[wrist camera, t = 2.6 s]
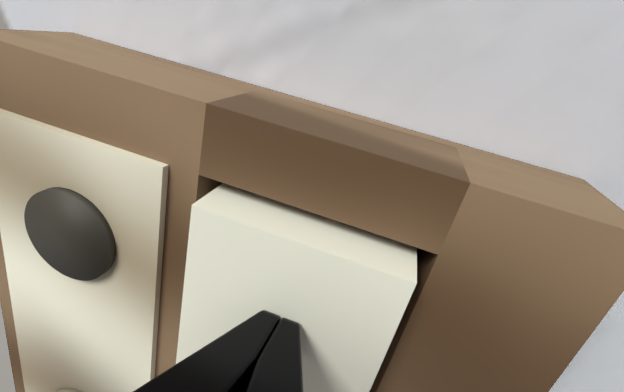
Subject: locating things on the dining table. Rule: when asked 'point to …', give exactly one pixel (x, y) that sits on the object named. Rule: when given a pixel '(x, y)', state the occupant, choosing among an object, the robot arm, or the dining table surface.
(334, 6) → the dining table surface
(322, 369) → the button
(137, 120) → the button board
